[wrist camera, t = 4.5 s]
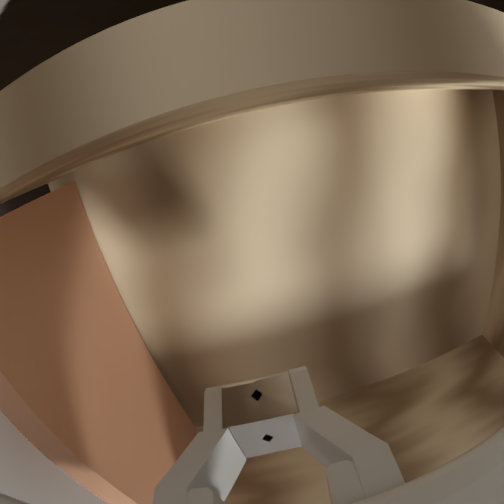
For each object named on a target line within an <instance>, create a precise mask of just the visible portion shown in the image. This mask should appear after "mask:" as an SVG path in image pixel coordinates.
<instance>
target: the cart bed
mask: <svg viewBox="0 0 504 504" xmlns="http://www.w3.org/2000/svg"><path fill="white" fill-rule="evenodd" d="M73 182H75V184H76V187H77V190H78V193H79V196H80V199H81V202H82V204H83V207H84V210H85V213H86V216H87V218H88V221H89V224H90V226H91V229H92V232H93V234H94V237H95V239H96V242H97V244H98V247H99V249H100V252H101V254H102V256H103V259H104V261H105V263H106V266H107V268H108V270H109V273H110V275H111V277H112V279H113V282H114V284H115V286H116V288H117V290H118V292H119V294H120V297H121V299H122V301H123V303H124V305H125V307H126V309H127V311H128V313H129V315H130V317H131V319H132V321H133V323H134V325H135V327H136V329H137V331H138V333H139V334H140V336H141V338H142V340H143V342H144V344H145V346H146V347H147V349H148V351H149V353H150V355H151V356H152V358H153V360H154V362H155V363H156V365H157V367H158V369H159V370H160V372H161V374H162V375H163V377H164V379H165V380H166V382H167V384H168V385H169V387H170V389H171V390H172V392H173V393H174V395H175V397H176V398H177V400H178V401H179V403H180V404H181V406H182V407H183V409H184V410H185V412H186V413H187V415H188V417H189V418H190V419H191V421H192V422H193V424H194V425H195V427H196V435H197V434H198V432H203V421H204V392H205V390H206V388H210V387H216V386H222V385H226V384H232V383H238V382H243V381H248V380H253V379H256V378H260V377H264V376H268V375H272V374H276V373H280V372H284V371H288V372H289V370H291V369H295V368H299V367H302V366H305V367H306V368H307V370H308V373H309V376H310V379H311V382H312V386H313V389H314V392H315V395H316V398H317V401H318V404H319V407H322V406H326V407H328V408H329V409H331V410H332V411H334V412H335V413H337V414H339V415H340V416H342V417H343V418H345V419H347V420H348V421H350V422H352V423H353V424H355V425H357V426H358V427H360V428H362V429H363V430H365V431H367V432H368V433H370V434H372V435H373V436H375V437H377V438H379V439H380V440H382V441H384V442H386V443H387V444H388V445H389V447H390V450H391V452H392V454H393V456H394V458H395V461H396V463H397V465H398V467H399V470H400V472H401V474H402V477H403V479H404V481H405V483H407V482H409V481H411V480H413V479H416V478H418V477H420V476H422V475H424V474H426V473H428V472H430V471H432V470H434V469H436V468H438V467H440V466H442V465H444V464H445V463H447V462H449V461H451V460H453V459H454V458H456V457H458V456H460V455H461V454H463V453H465V452H466V451H468V450H470V449H471V448H473V447H474V446H476V445H478V444H479V443H481V442H482V441H484V440H485V439H487V438H488V437H490V436H491V435H493V434H494V433H496V432H497V431H498V430H500V429H501V428H502V427H504V12H501V11H498V10H496V9H493V8H490V7H487V6H484V5H481V4H478V3H474V2H471V1H467V0H188V1H184V2H181V3H177V4H174V5H170V6H167V7H164V8H161V9H158V10H155V11H152V12H149V13H146V14H143V15H140V16H138V17H135V18H132V19H130V20H127V21H125V22H122V23H120V24H117V25H115V26H112V27H110V28H108V29H106V30H103V31H101V32H99V33H97V34H95V35H92V36H90V37H88V38H86V39H84V40H82V41H80V42H78V43H76V44H74V45H72V46H71V47H69V48H67V49H65V50H63V51H61V52H60V53H58V54H56V55H54V56H53V57H51V58H49V59H48V60H46V61H44V62H43V63H41V64H39V65H38V66H36V67H35V68H33V69H31V70H30V71H28V72H27V73H25V74H24V75H22V76H21V77H19V78H18V79H16V80H15V81H14V82H12V83H11V84H9V85H8V86H7V87H5V88H4V89H3V90H1V91H0V204H2V203H4V202H6V201H8V200H10V199H12V198H15V197H17V196H19V195H21V194H24V193H26V192H28V191H31V190H33V189H35V188H38V187H40V186H43V185H45V184H48V185H49V188H50V191H51V192H52V191H54V190H57V189H59V188H61V187H63V186H66V185H68V184H70V183H73ZM246 459H247V460H246V462H245V464H244V466H243V468H242V470H241V472H240V474H239V475H238V477H237V479H236V481H235V483H234V485H233V487H232V489H231V490H230V492H229V494H228V496H227V498H226V499H225V501H224V502H225V503H226V504H331V501H330V496H329V489H328V482H327V476H326V469H327V468H326V467H325V466H324V465H323V464H321V463H320V462H319V461H318V460H317V459H316V458H314V457H313V456H312V455H311V454H310V453H308V452H307V451H306V450H305V449H304V448H303V447H297V448H293V449H288V450H283V451H278V452H273V453H269V454H264V455H259V456H255V457H249V458H246Z"/></svg>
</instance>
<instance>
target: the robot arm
mask: <svg viewBox="0 0 504 504" xmlns="http://www.w3.org/2000/svg"><path fill="white" fill-rule="evenodd" d="M297 447H303V448H304V449H305V450H306V451H307V452H308V453H310V454H311V455H312V456H313V457H314V458H316V459H317V460H318V461H319V462H320V463H321V464H323V465H324V466H325V467H326V468H327V469H326V476H327V482H328V489H329V496H330V501H331V504H504V427H502V428H501V429H500V430H498V431H497V432H496V433H494V434H493V435H491V436H490V437H488V438H487V439H485V440H484V441H482V442H481V443H479V444H478V445H476V446H474V447H473V448H471V449H470V450H468V451H466V452H465V453H463V454H461V455H460V456H458V457H456V458H454V459H453V460H451V461H449V462H447V463H445V464H444V465H442V466H440V467H438V468H436V469H434V470H432V471H430V472H428V473H426V474H424V475H422V476H420V477H418V478H416V479H413V480H411V481H409V482H407V483H405V481H404V479H403V477H402V474H401V472H400V470H399V467H398V465H397V463H396V461H395V458H394V456H393V454H392V452H391V450H390V447H389V445H388V444H387V443H386V442H384V441H382V440H380V439H379V438H377V437H375V436H373V435H372V434H370V433H368V432H367V431H365V430H363V429H362V428H360V427H358V426H357V425H355V424H353V423H352V422H350V421H348V420H347V419H345V418H343V417H342V416H340V415H339V414H337V413H335V412H334V411H332V410H331V409H329V408H328V407H326V406H322V407H319V404H318V401H317V398H316V395H315V392H314V389H313V386H312V382H311V379H310V376H309V373H308V370H307V368H306V367H305V366H302V367H299V368H295V369H291V370H289V372H288V371H284V372H280V373H276V374H272V375H268V376H264V377H260V378H256V379H253V380H248V381H243V382H238V383H232V384H226V385H222V386H216V387H210V388H206V390H205V392H204V421H203V432H198V434H197V435H196V436H195V437H194V439H193V440H192V441H191V443H190V444H189V445H188V447H187V448H186V449H185V450H184V452H183V453H182V454H181V456H180V457H179V458H178V459H177V461H176V462H175V463H174V464H173V466H172V467H171V468H170V469H169V471H168V472H167V473H166V474H165V476H164V477H163V478H162V479H161V481H160V482H159V483H158V484H157V485H156V487H155V488H154V498H153V504H226V503H225V502H224V501H225V499H226V498H227V496H228V494H229V492H230V490H231V489H232V487H233V485H234V483H235V481H236V479H237V477H238V475H239V474H240V472H241V470H242V468H243V466H244V464H245V462H246V460H247V459H246V458H249V457H255V456H259V455H264V454H269V453H273V452H278V451H283V450H288V449H293V448H297ZM0 504H29V503H26V502H23V501H21V500H18V499H15V498H12V497H10V496H7V495H5V494H2V493H0Z"/></svg>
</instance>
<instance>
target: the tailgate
mask: <svg viewBox="0 0 504 504" xmlns="http://www.w3.org/2000/svg"><path fill="white" fill-rule="evenodd" d="M0 410H1V411H2V412H3V414H4V415H5V416H6V417H7V418H8V419H9V420H10V421H11V423H12V424H13V425H14V426H15V427H16V428H17V429H18V430H19V431H20V432H21V433H22V434H23V435H24V436H25V437H26V438H27V439H28V440H29V441H30V442H31V443H32V444H33V445H34V446H35V447H36V448H37V449H39V450H40V451H41V452H42V453H43V454H44V455H45V456H46V457H47V458H48V459H50V460H51V461H52V462H53V463H54V464H55V465H57V466H58V467H59V468H60V469H61V470H63V471H64V472H65V473H66V474H68V475H69V476H70V477H71V478H73V479H74V480H75V481H76V482H78V483H79V484H80V485H82V486H83V487H84V488H86V489H87V490H89V491H90V492H91V493H93V494H94V495H96V496H97V497H99V498H100V499H102V500H103V501H105V502H106V503H108V504H153V498H154V488H155V487H156V485H157V484H158V483H159V482H160V481H161V479H162V478H163V477H164V476H165V474H166V473H167V472H168V471H169V469H170V468H171V467H172V466H173V464H174V463H175V462H176V461H177V459H178V458H179V457H180V456H181V454H182V453H183V452H184V450H185V449H186V448H187V447H188V445H189V444H190V443H191V441H192V440H193V439H194V437H195V436H196V427H195V425H194V424H193V422H192V421H191V419H190V418H189V417H188V415H187V413H186V412H185V410H184V409H183V407H182V406H181V404H180V403H179V401H178V400H177V398H176V397H175V395H174V393H173V392H172V390H171V389H170V387H169V385H168V384H167V382H166V380H165V379H164V377H163V375H162V374H161V372H160V370H159V369H158V367H157V365H156V363H155V362H154V360H153V358H152V356H151V355H150V353H149V351H148V349H147V347H146V346H145V344H144V342H143V340H142V338H141V336H140V334H139V333H138V331H137V329H136V327H135V325H134V323H133V321H132V319H131V317H130V315H129V313H128V311H127V309H126V307H125V305H124V303H123V301H122V299H121V297H120V294H119V292H118V290H117V288H116V286H115V284H114V282H113V279H112V277H111V275H110V273H109V270H108V268H107V266H106V263H105V261H104V259H103V256H102V254H101V252H100V249H99V247H98V244H97V242H96V239H95V237H94V234H93V232H92V229H91V226H90V224H89V221H88V218H87V216H86V213H85V210H84V207H83V204H82V202H81V199H80V196H79V193H78V190H77V187H76V184H75V182H73V183H70V184H68V185H66V186H63V187H61V188H59V189H57V190H54V191H52V192H50V193H48V194H46V195H44V196H41V197H39V198H37V199H35V200H33V201H31V202H29V203H27V204H25V205H23V206H21V207H19V208H17V209H15V210H13V211H11V212H9V213H7V214H5V215H4V216H2V217H0Z"/></svg>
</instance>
